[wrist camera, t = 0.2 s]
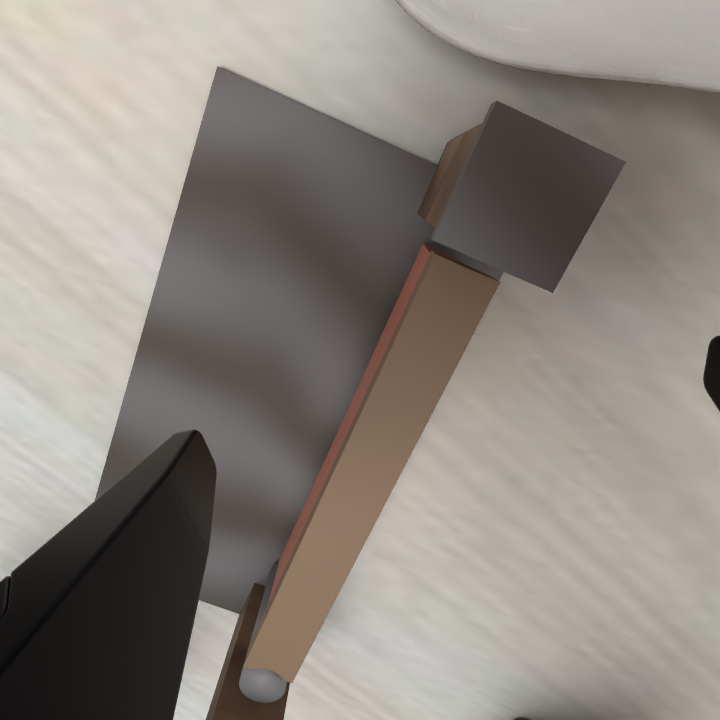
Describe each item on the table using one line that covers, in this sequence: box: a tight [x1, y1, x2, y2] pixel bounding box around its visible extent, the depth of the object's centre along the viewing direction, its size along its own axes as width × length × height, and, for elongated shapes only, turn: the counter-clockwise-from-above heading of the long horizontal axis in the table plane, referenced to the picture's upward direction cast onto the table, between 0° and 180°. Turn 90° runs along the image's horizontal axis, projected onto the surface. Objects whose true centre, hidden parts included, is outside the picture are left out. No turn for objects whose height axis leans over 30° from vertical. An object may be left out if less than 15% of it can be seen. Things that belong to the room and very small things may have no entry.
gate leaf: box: [239, 244, 500, 703], centre depth 22 cm, size 20×2×6 cm, turn 157°
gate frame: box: [95, 66, 626, 720], centre depth 20 cm, size 28×14×10 cm, turn 157°
